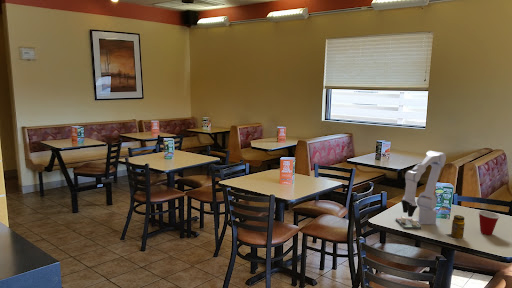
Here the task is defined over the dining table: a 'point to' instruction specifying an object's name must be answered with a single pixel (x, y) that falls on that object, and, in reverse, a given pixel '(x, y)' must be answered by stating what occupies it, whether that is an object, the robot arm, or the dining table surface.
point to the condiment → (457, 228)
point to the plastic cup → (487, 222)
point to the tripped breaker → (403, 219)
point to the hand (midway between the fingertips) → (407, 214)
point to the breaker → (414, 221)
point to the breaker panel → (408, 224)
